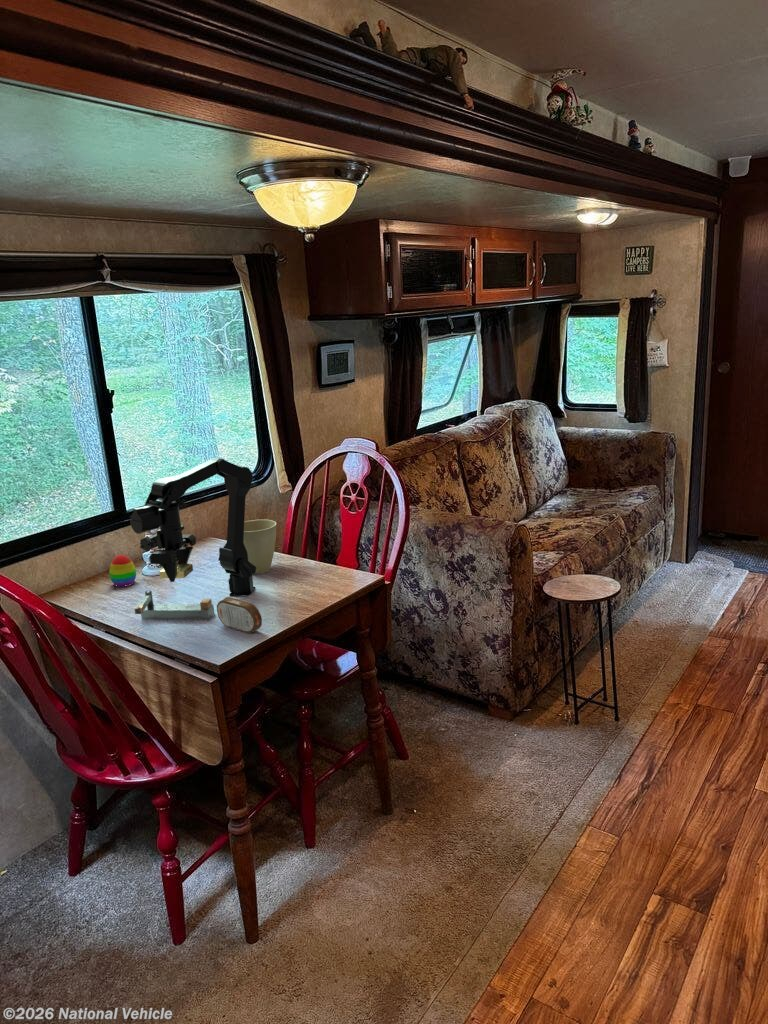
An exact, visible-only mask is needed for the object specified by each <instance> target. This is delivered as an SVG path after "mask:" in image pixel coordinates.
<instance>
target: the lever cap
mask: <svg viewBox="0 0 768 1024" xmlns="http://www.w3.org/2000/svg"><path fill="white" fill-rule="evenodd" d="M193 566H194V565H193V563H187V564H178V567H177V572H176V577H175V579H185V578H186V577H187V576H188V575H190V574H191V573H192V572H193V571H194V567H193ZM159 578H160V579H169V578H168V576H167V574H166V572H165V570H164V569H163V568H162V569H161V570H160V571H159Z"/></svg>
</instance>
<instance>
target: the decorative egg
mask: <svg viewBox="0 0 768 1024" xmlns="http://www.w3.org/2000/svg"><path fill="white" fill-rule="evenodd" d="M136 569H137V568H136V566H135V564H134V562H133V560H132V559H130V557H128V556H126V555H124V554H119V555H116V556H115V557H114V558H113V560H111V563H110V566H109V578H110V580H111V582H112V584H114V585H115V586H116V585H117V586H116V587H118V586H124V587H126V586H125V585H129V584H131V585H133V584H134V583H135V581H136V578H137V570H136ZM132 583H133V584H132ZM129 586H130V585H129Z"/></svg>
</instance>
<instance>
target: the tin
mask: <svg viewBox="0 0 768 1024" xmlns="http://www.w3.org/2000/svg"><path fill="white" fill-rule="evenodd" d="M216 611H217V616H218V619H219V620H220V622H221V623H222V625H224V626H225V627H226V628H229V629H232V630H236V631H240V632H243V633H246V634H252V633H254V632H255V631H257V630H259V629H260V628H261V626H262V624H263V618H262V615H261V612H260V611H259V609H258V607H256V605H255V604H254V603H252V602H250V601H248V600H247V601H246V600H242V599H239V598H235V597H233V596H226V597H225V598H223V599H222V600H219V602H218V603H217V604H216Z"/></svg>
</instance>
